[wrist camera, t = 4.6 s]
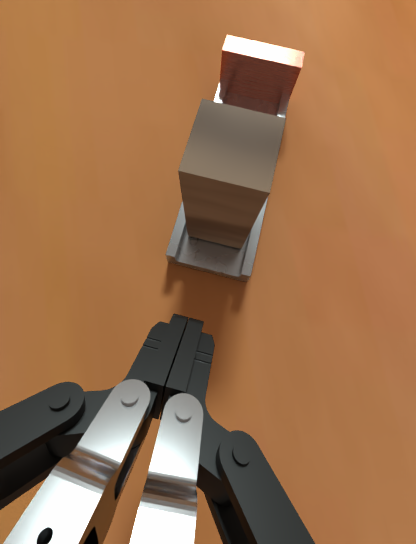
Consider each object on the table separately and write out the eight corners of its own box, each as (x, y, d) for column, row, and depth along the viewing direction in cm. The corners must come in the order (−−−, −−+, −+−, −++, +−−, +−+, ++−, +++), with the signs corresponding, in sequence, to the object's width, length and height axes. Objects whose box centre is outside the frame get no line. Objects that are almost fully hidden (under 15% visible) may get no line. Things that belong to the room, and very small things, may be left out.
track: (246, 282, 22) (259, 269, 17) (168, 262, 22) (159, 243, 17) (286, 101, 27) (304, 52, 22) (222, 87, 27) (227, 34, 22)
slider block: (241, 249, 21) (269, 192, 12) (187, 235, 21) (178, 170, 12) (252, 200, 22) (285, 118, 13) (201, 188, 22) (202, 98, 14)
